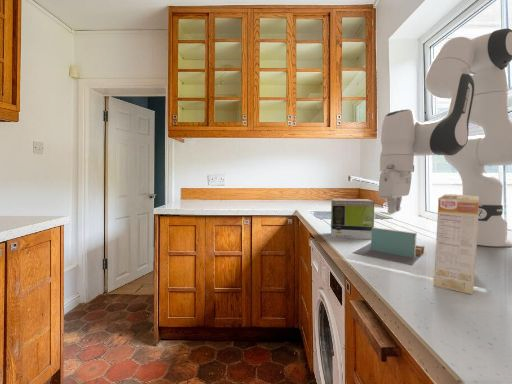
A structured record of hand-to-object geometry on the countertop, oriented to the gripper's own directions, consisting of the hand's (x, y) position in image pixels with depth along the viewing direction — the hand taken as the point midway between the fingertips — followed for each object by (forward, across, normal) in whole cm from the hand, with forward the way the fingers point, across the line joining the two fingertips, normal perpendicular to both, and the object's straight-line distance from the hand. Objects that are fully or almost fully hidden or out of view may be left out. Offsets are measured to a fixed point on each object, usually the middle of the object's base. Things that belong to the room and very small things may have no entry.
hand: (393, 212), depth 82 cm
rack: (+12, +6, 0) cm, 14 cm away
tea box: (+13, +16, +19) cm, 28 cm away
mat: (+13, 0, +1) cm, 13 cm away
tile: (+12, 0, 0) cm, 13 cm away
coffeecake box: (+13, -12, -16) cm, 24 cm away
